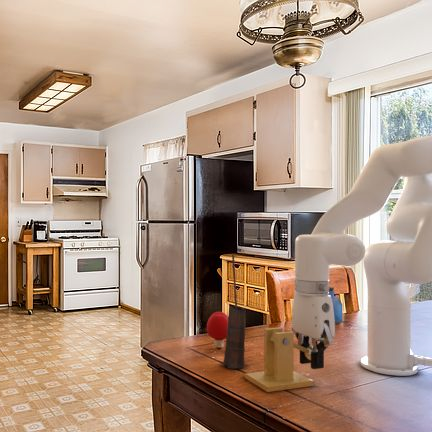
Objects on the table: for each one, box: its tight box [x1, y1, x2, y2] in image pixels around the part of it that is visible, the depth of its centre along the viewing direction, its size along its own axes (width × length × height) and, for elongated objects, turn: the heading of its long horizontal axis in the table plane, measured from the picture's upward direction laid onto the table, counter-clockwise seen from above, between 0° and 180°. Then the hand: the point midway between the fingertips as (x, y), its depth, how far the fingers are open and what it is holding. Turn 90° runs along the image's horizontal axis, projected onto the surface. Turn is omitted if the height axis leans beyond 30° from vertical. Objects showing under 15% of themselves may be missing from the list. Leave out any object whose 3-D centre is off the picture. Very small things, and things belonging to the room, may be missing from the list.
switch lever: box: [270, 330, 313, 360], centre depth 109 cm, size 13×3×3 cm, turn 109°
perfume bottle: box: [329, 286, 343, 323], centre depth 170 cm, size 6×6×12 cm
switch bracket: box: [244, 326, 314, 393], centre depth 107 cm, size 12×9×12 cm
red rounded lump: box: [206, 311, 228, 350], centre depth 134 cm, size 9×7×10 cm
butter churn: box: [223, 254, 247, 370], centre depth 118 cm, size 9×10×28 cm
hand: (311, 364), depth 110 cm, fingers closed on switch lever, 3 cm apart
